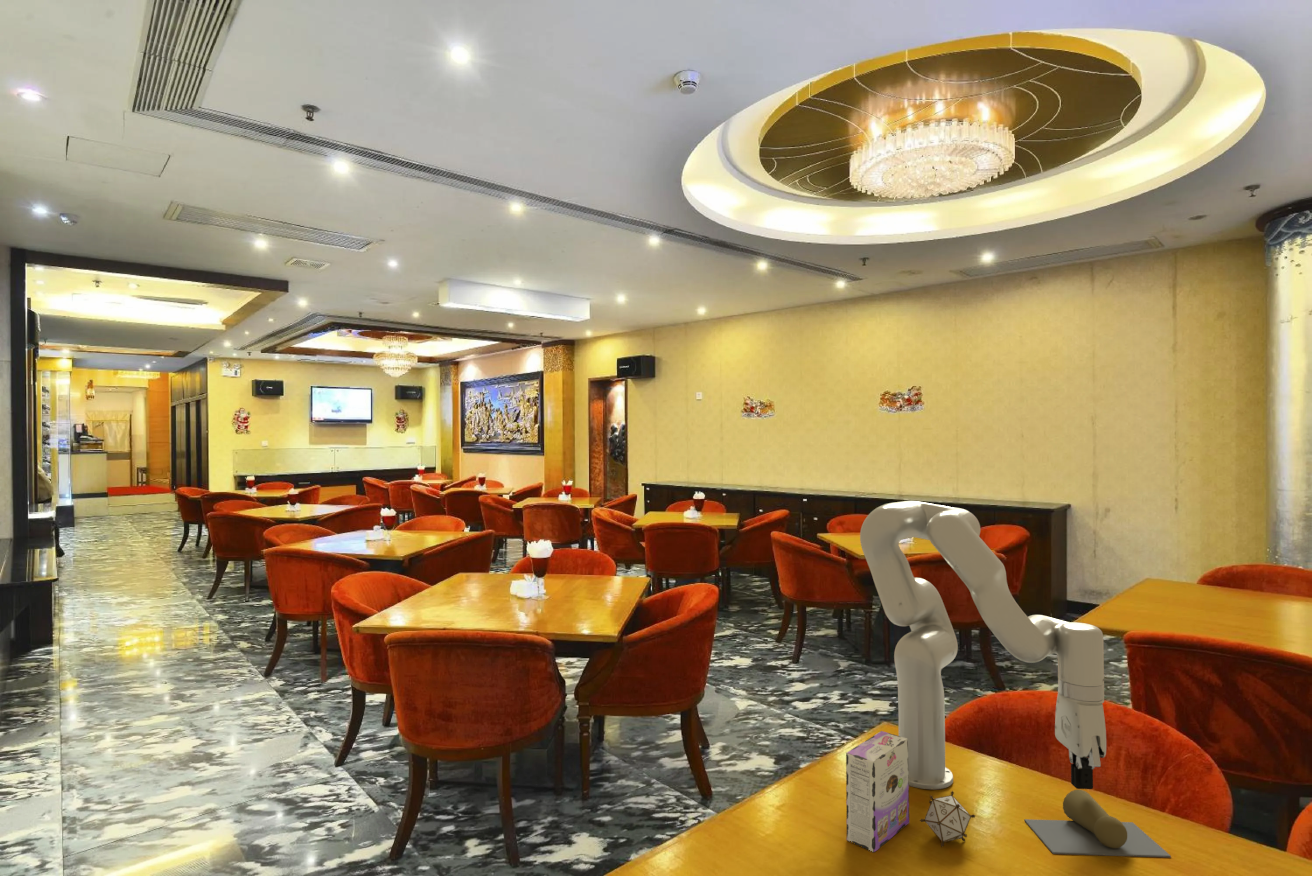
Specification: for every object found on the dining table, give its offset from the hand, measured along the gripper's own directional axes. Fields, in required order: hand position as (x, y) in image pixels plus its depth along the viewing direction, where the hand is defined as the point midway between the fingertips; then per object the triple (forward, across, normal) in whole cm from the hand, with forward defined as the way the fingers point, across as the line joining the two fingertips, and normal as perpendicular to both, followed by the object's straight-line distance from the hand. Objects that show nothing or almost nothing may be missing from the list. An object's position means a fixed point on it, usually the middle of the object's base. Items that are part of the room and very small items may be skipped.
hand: (1082, 786), depth 134 cm
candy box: (+8, +4, -39) cm, 40 cm away
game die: (+8, +6, -27) cm, 29 cm away
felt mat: (+8, +4, 0) cm, 8 cm away
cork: (+4, -2, 0) cm, 5 cm away
